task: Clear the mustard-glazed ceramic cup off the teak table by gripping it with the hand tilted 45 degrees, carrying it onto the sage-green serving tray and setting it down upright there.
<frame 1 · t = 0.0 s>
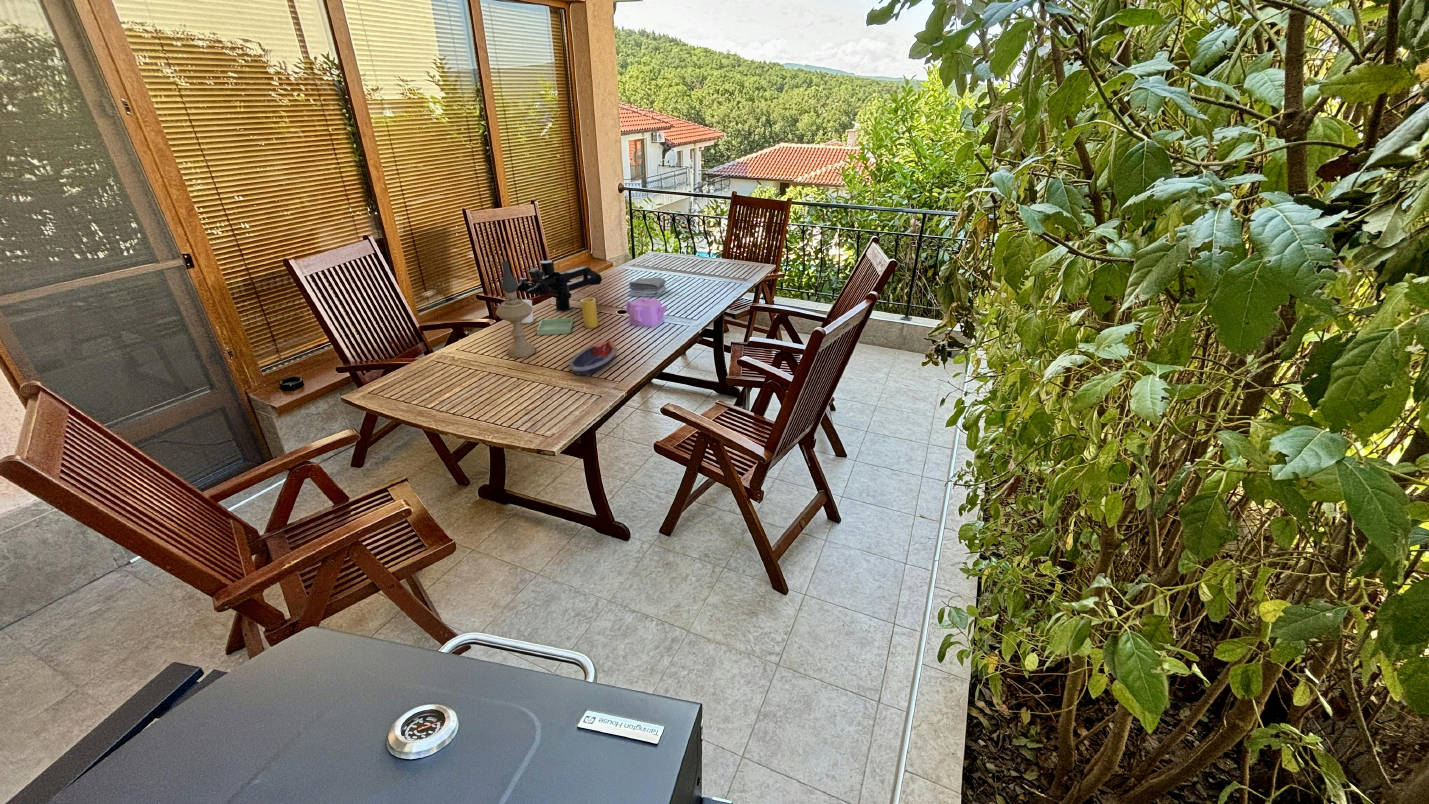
hand: (520, 290, 289), 17 cm above the table, tool horizontal, fingers open, 9 cm apart
cup: (591, 325, 291), on the table
towel: (647, 293, 338), on the table
oil lamp: (522, 352, 262), on the table
dish: (595, 364, 249), on the table
tray: (555, 328, 288), on the table
lilac faceted pot: (648, 322, 294), on the table
white cup: (526, 321, 299), on the table
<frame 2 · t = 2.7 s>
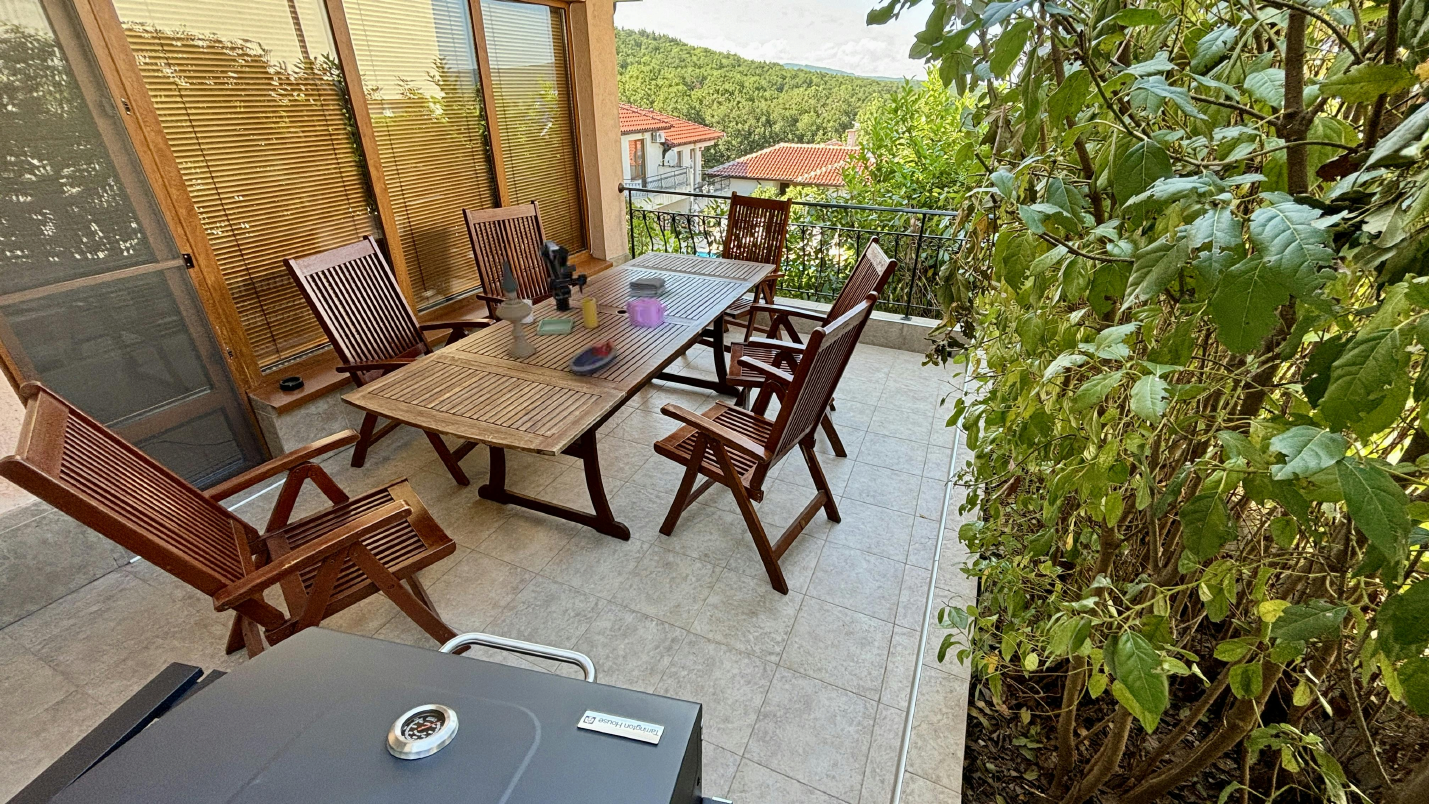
hand: (572, 295, 288), 14 cm above the table, tool tilted 50°, fingers open, 9 cm apart
nothing on the table moved.
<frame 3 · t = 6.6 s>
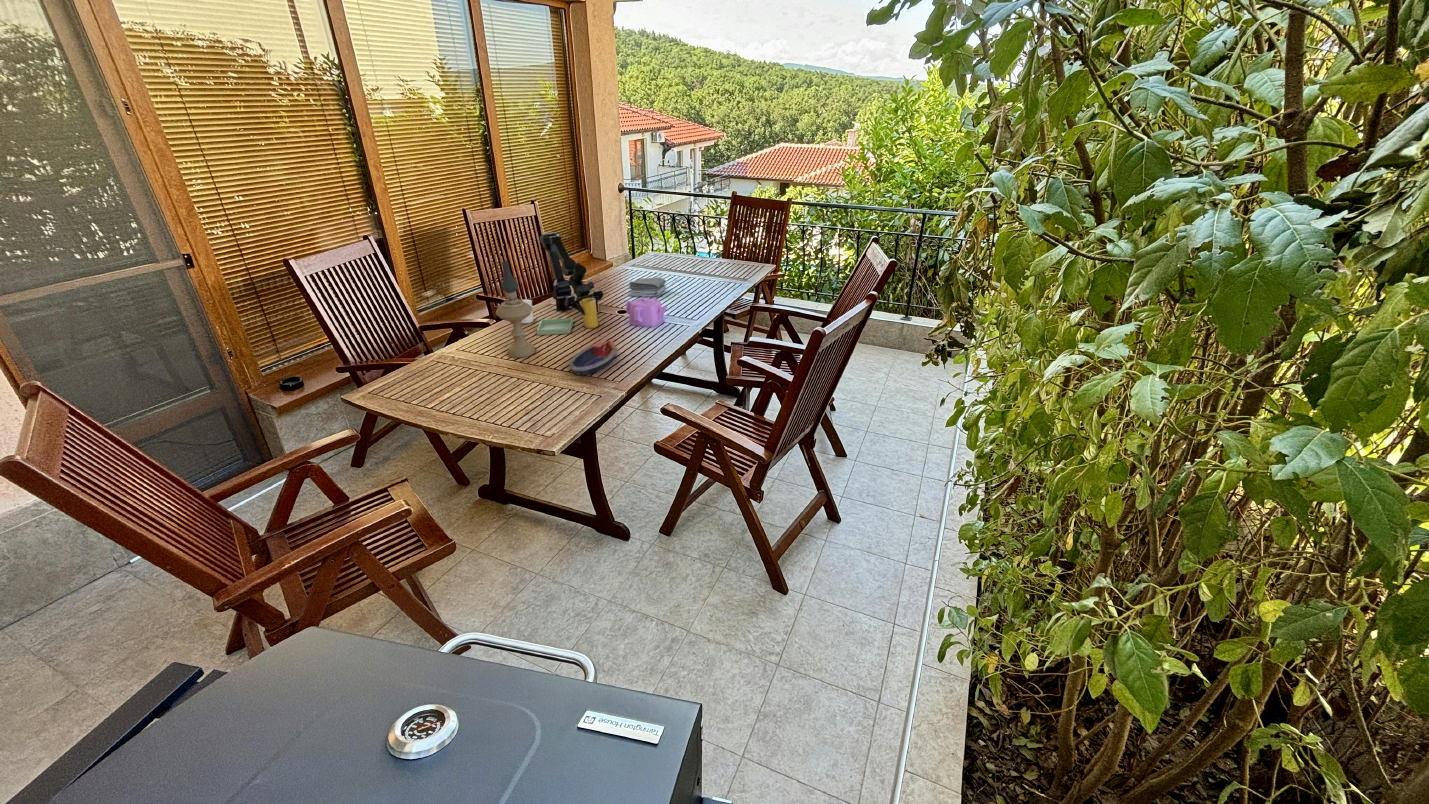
hand: (591, 313, 287), 7 cm above the table, tool tilted 45°, fingers closed on cup, 6 cm apart
cup: (591, 325, 291), on the table, touching gripper
everything else where it was.
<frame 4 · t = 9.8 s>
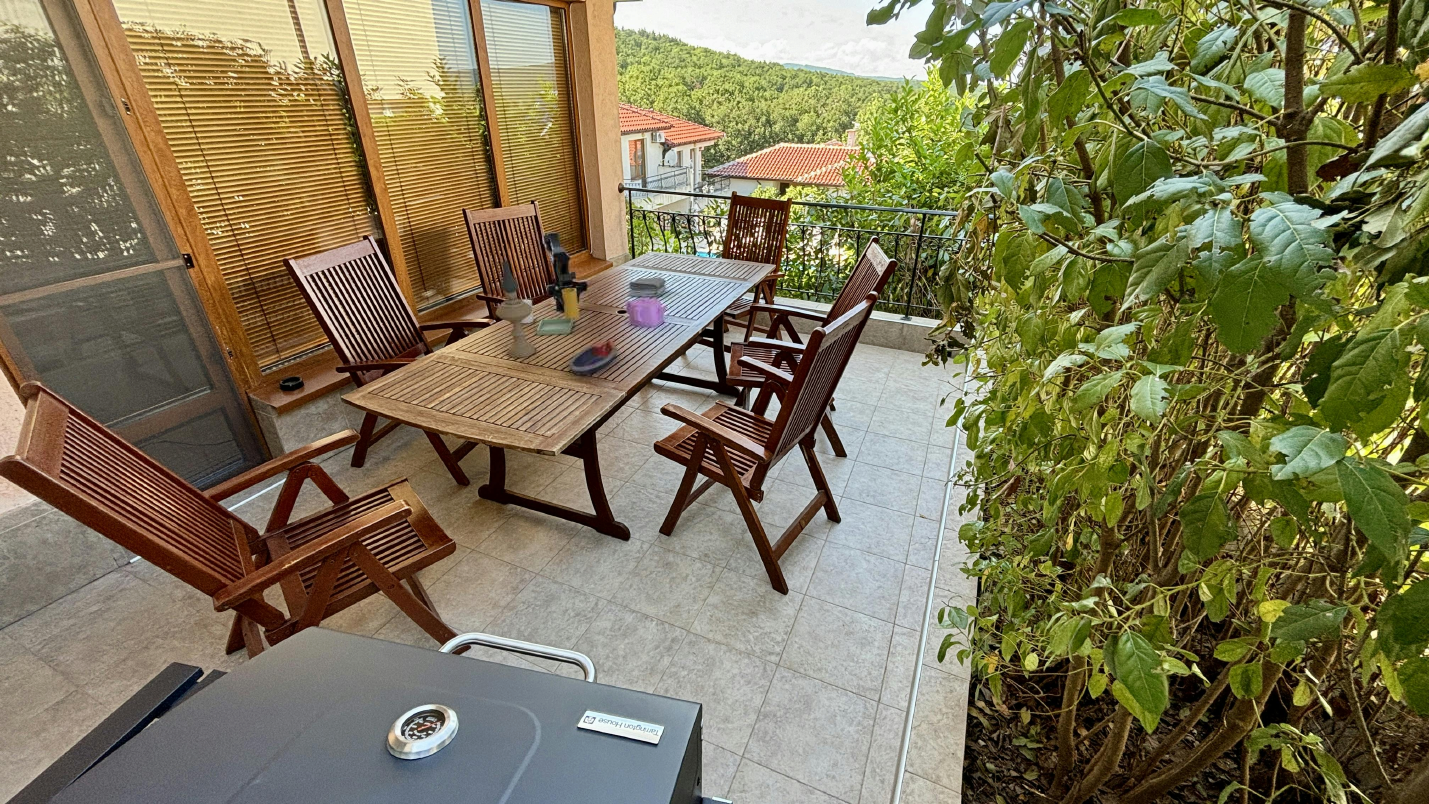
hand: (571, 303, 282), 12 cm above the table, tool tilted 45°, fingers closed on cup, 6 cm apart
cup: (572, 316, 286), point 6 cm above the table, touching gripper
everything else where it was.
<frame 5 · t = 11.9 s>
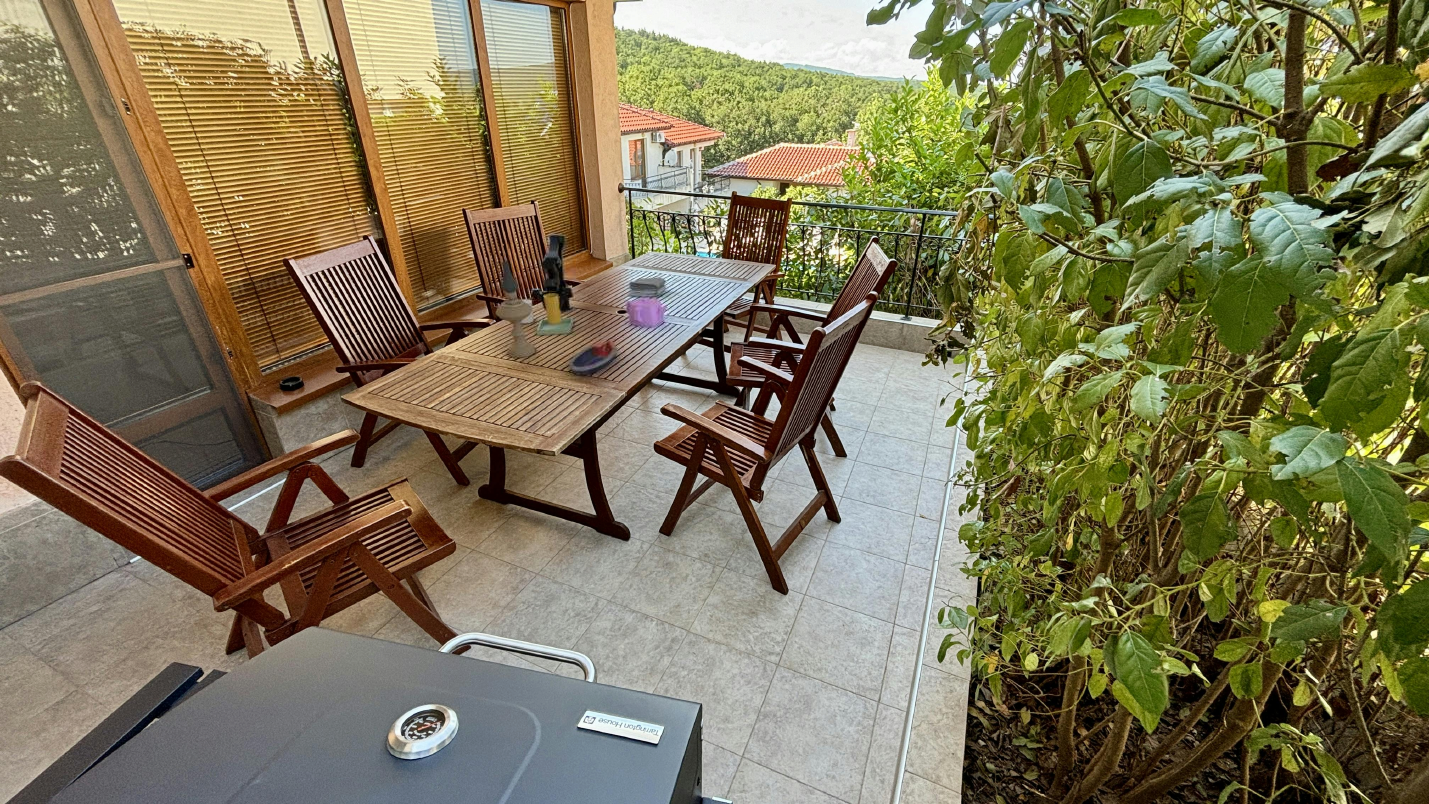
hand: (552, 309, 283), 10 cm above the table, tool tilted 45°, fingers closed on cup, 6 cm apart
cup: (554, 321, 287), point 4 cm above the table, touching gripper
everything else where it was.
when the fingers open (7 cm above the table, at t = 13.4 s): cup stays where it is, resting on tray.
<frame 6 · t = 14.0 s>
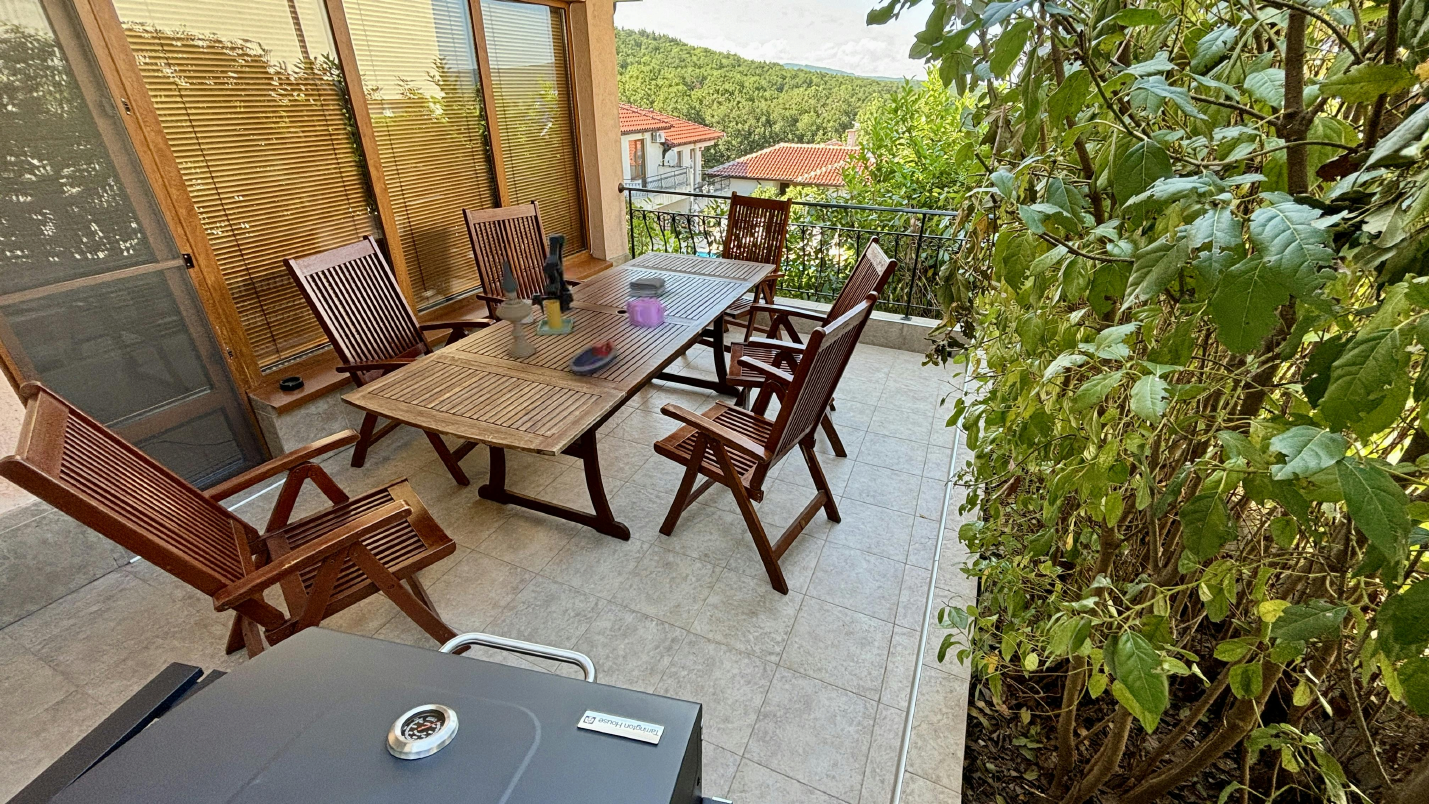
hand: (553, 314, 284), 8 cm above the table, tool tilted 45°, fingers open, 9 cm apart
cup: (555, 327, 288), resting on tray
everything else where it was.
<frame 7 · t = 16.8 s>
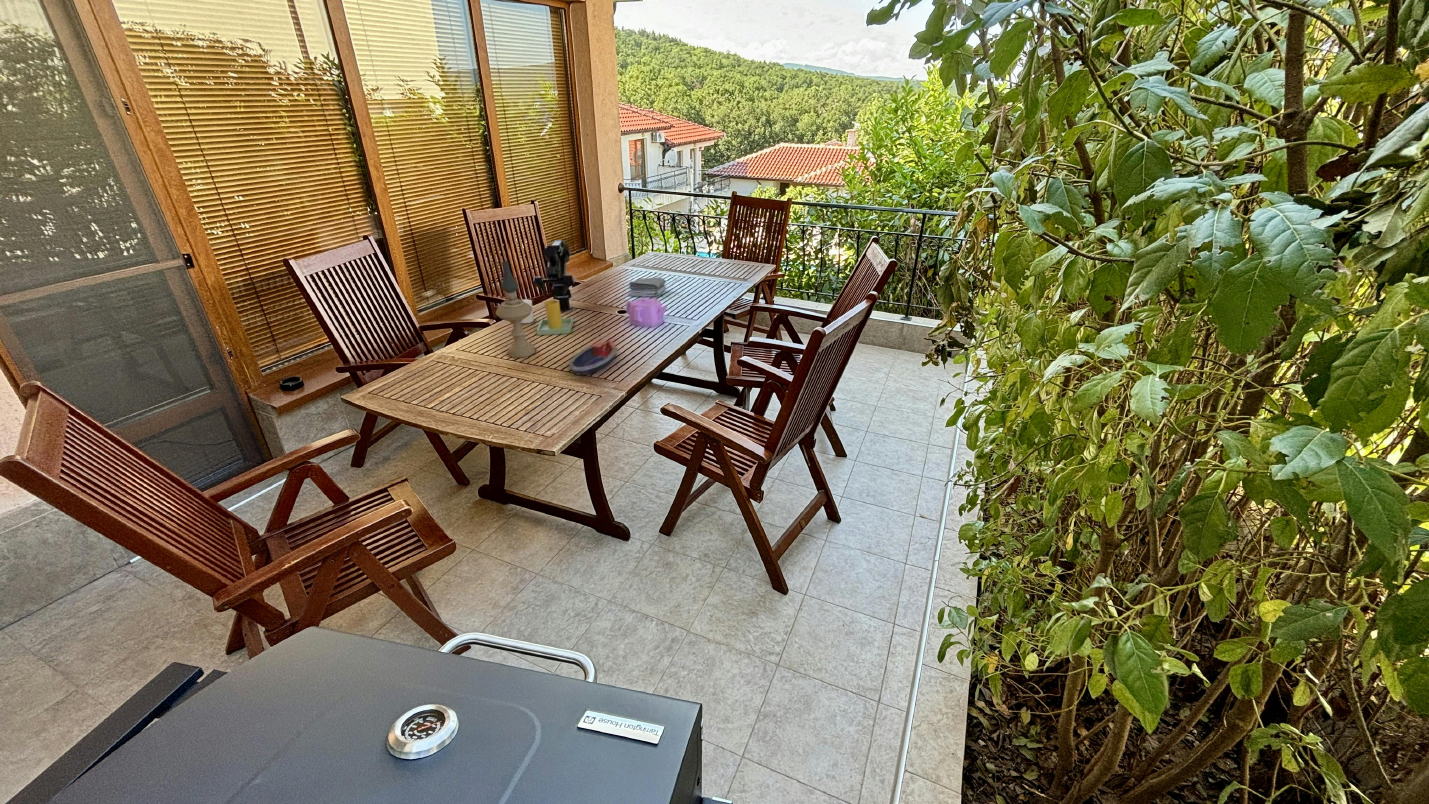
hand: (554, 296, 289), 14 cm above the table, tool tilted 45°, fingers open, 9 cm apart
nothing on the table moved.
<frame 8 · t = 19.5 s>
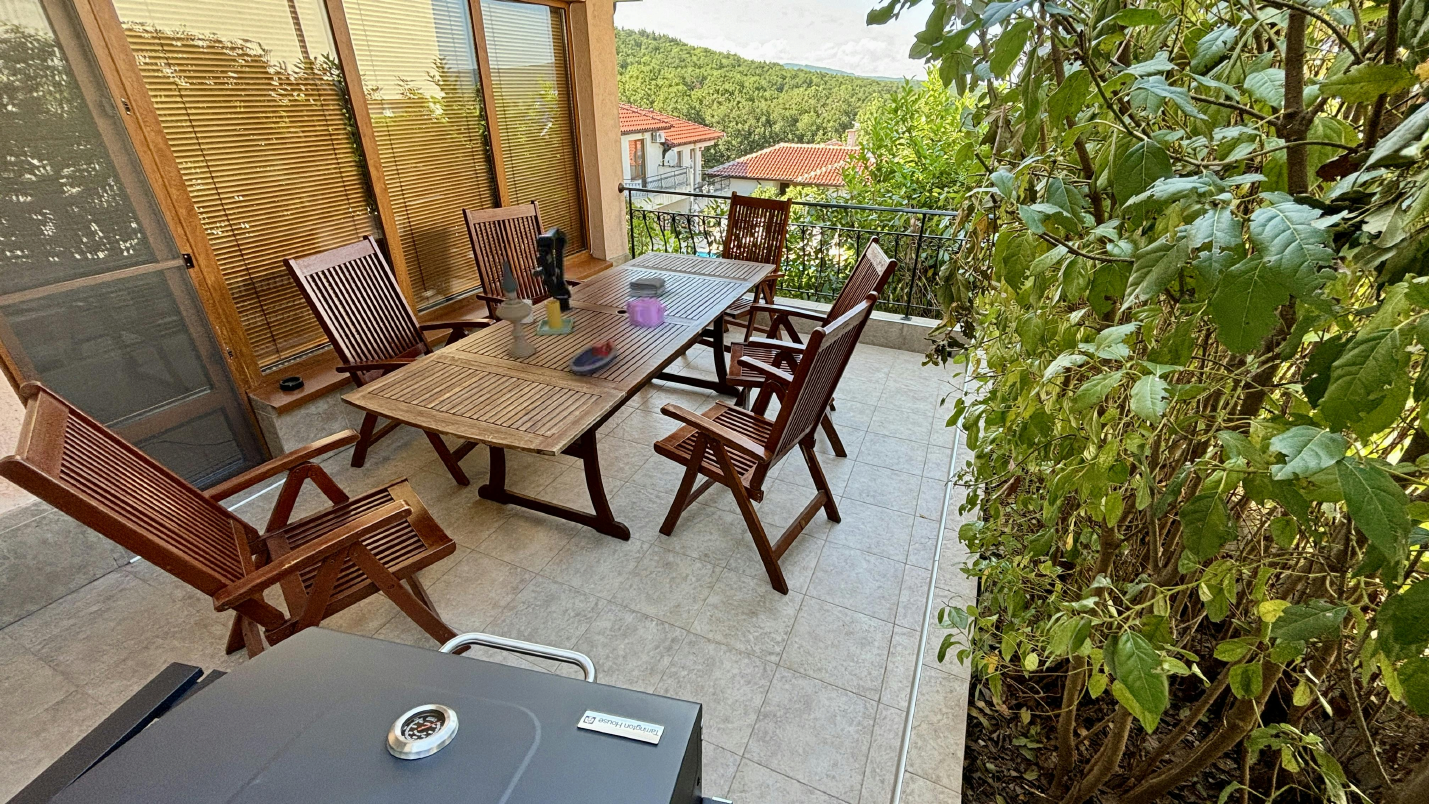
hand: (553, 293, 296), 13 cm above the table, tool pointing down, fingers open, 9 cm apart
nothing on the table moved.
at the end: cup inside the target area in the tray (0.0 cm from its centre), point 0.5 cm above the tray's base; cup tilted 0°; the gripper is holding nothing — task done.
